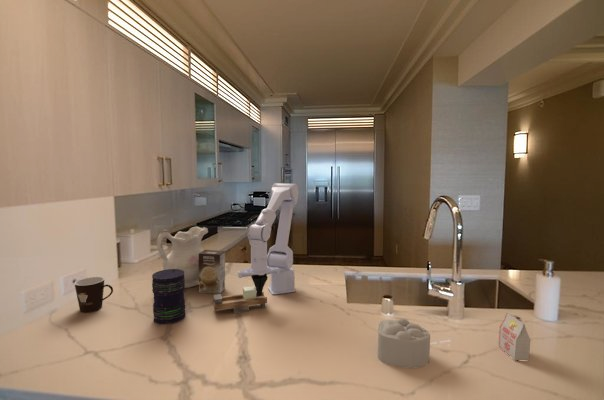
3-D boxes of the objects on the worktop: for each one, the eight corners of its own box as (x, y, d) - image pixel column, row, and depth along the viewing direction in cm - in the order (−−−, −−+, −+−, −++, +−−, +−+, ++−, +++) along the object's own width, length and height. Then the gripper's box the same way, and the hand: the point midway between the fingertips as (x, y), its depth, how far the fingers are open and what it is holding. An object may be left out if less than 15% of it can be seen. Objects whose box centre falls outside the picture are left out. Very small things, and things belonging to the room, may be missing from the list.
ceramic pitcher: (177, 299, 120) (179, 236, 117) (146, 285, 130) (147, 227, 127) (218, 283, 138) (221, 228, 135) (189, 272, 148) (191, 220, 145)
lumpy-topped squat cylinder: (378, 342, 90) (379, 313, 89) (426, 349, 86) (427, 319, 85) (377, 363, 80) (378, 331, 79) (431, 372, 76) (433, 338, 75)
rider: (254, 295, 113) (254, 286, 113) (256, 299, 110) (256, 289, 110) (243, 297, 112) (242, 287, 112) (244, 301, 109) (244, 290, 108)
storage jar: (174, 326, 97) (172, 279, 96) (146, 323, 99) (144, 277, 98) (191, 312, 107) (190, 270, 105) (165, 309, 109) (164, 267, 107)
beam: (263, 301, 116) (263, 287, 116) (267, 308, 110) (267, 293, 110) (213, 308, 110) (212, 294, 109) (214, 316, 104) (214, 300, 104)
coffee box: (198, 292, 124) (197, 253, 123) (204, 287, 130) (204, 249, 129) (220, 294, 123) (219, 254, 122) (225, 288, 129) (225, 250, 128)
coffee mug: (70, 310, 107) (69, 282, 106) (97, 301, 115) (95, 275, 114) (89, 318, 102) (88, 288, 101) (116, 308, 109) (114, 280, 108)
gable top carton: (511, 347, 88) (514, 312, 87) (528, 361, 81) (531, 324, 80) (498, 346, 88) (500, 312, 87) (514, 361, 81) (517, 324, 80)
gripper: (240, 262, 105) (240, 301, 106) (281, 258, 110) (281, 296, 111) (237, 257, 111) (237, 294, 112) (276, 254, 116) (276, 289, 117)
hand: (259, 294), depth 112 cm, fingers closed
